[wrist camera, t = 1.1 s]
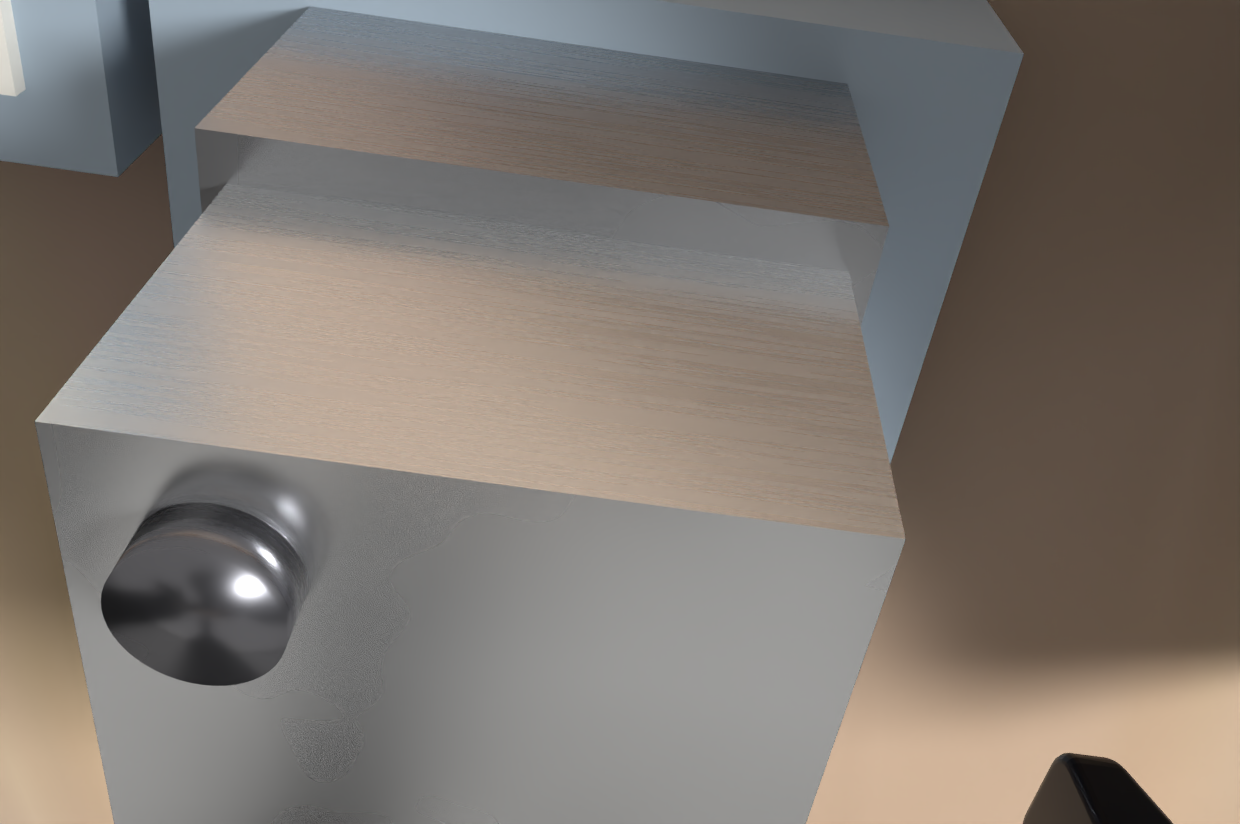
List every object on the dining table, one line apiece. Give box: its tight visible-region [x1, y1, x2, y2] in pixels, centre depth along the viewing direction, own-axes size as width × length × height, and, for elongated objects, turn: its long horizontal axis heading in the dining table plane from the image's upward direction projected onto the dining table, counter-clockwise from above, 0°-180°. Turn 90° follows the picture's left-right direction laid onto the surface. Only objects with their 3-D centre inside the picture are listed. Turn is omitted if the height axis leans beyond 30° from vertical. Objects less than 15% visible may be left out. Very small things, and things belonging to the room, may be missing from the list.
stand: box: [149, 0, 1024, 463], centre depth 14 cm, size 8×8×2 cm
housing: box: [35, 6, 906, 824], centre depth 10 cm, size 7×5×6 cm
